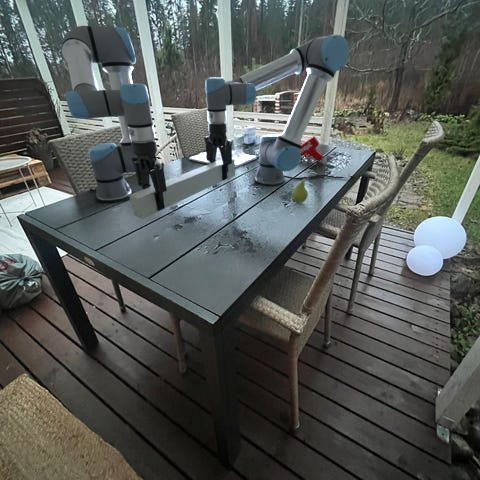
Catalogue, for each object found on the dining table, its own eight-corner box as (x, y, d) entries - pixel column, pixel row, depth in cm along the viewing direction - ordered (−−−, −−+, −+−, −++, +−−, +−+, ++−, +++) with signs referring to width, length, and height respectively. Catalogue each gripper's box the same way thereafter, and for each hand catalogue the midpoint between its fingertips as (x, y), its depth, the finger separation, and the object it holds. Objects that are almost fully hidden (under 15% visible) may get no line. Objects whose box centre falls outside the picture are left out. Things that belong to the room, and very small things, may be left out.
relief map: (230, 169, 160) (230, 160, 157) (189, 159, 178) (188, 151, 175) (256, 158, 178) (256, 150, 176) (216, 150, 196) (216, 143, 193)
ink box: (251, 141, 219) (251, 125, 213) (255, 142, 216) (255, 126, 210) (243, 143, 214) (243, 127, 208) (248, 144, 211) (248, 128, 205)
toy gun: (327, 156, 170) (314, 135, 166) (326, 157, 167) (314, 136, 163) (301, 171, 180) (289, 151, 176) (301, 173, 177) (288, 153, 173)
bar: (227, 173, 128) (226, 157, 124) (235, 175, 126) (234, 159, 122) (134, 215, 94) (128, 195, 90) (142, 219, 92) (137, 198, 88)
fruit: (288, 200, 123) (290, 174, 116) (302, 197, 125) (305, 172, 119) (296, 206, 118) (299, 179, 111) (310, 203, 120) (314, 177, 114)
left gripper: (115, 138, 87) (131, 204, 100) (152, 147, 78) (164, 218, 91) (135, 134, 92) (148, 197, 105) (172, 141, 83) (181, 209, 96)
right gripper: (194, 121, 111) (199, 176, 123) (229, 126, 102) (230, 184, 115) (206, 118, 116) (210, 172, 128) (240, 123, 107) (241, 179, 120)
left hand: (156, 207), depth 98 cm, fingers closed on bar, 5 cm apart
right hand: (219, 178), depth 121 cm, fingers closed on bar, 5 cm apart
